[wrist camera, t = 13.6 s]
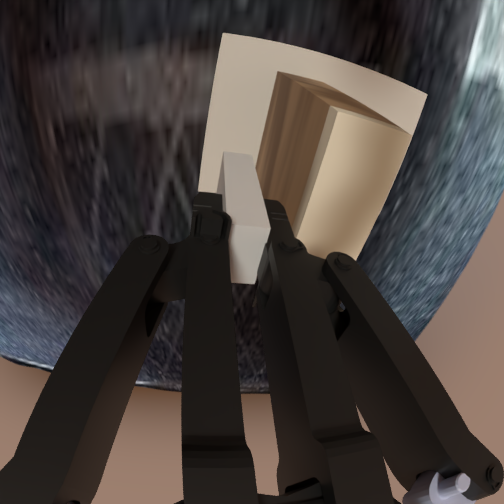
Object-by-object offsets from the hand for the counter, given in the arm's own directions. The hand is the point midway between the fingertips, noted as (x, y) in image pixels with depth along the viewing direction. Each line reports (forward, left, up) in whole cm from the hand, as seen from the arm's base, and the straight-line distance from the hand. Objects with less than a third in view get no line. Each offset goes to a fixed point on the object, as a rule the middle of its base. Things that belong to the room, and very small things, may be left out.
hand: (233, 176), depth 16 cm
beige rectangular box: (+5, 0, -11) cm, 12 cm away
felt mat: (+8, 0, -12) cm, 14 cm away
